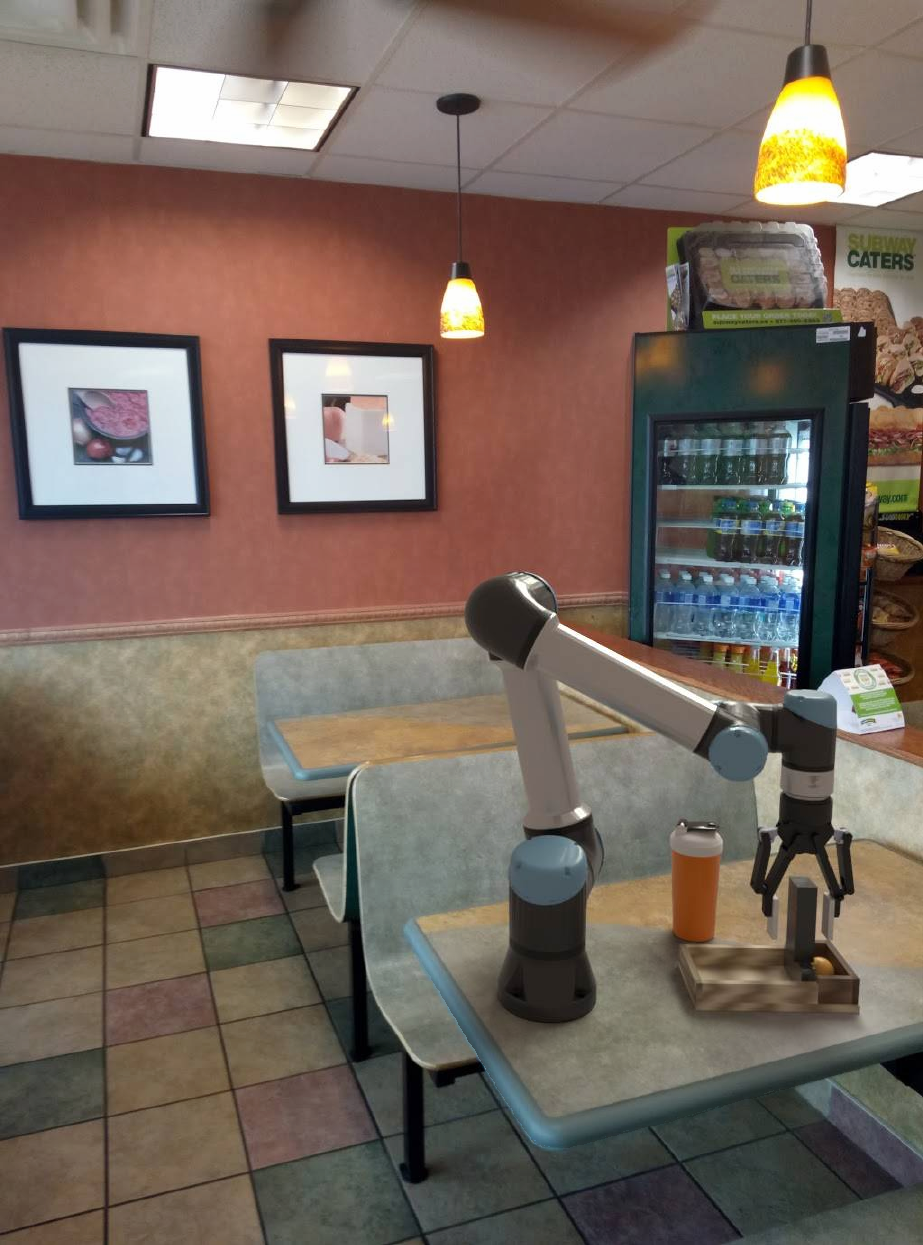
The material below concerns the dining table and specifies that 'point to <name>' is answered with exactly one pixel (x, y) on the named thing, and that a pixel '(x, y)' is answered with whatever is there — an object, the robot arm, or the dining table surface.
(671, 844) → the shaker bottle
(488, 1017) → the dining table surface
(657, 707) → the robot arm
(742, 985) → the tray
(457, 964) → the dining table surface
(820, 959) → the ball
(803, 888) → the block
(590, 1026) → the dining table surface
